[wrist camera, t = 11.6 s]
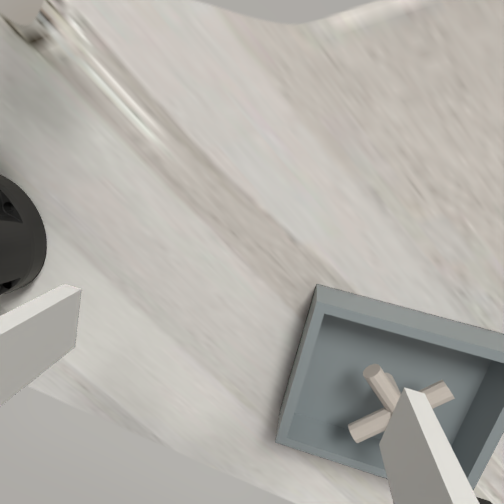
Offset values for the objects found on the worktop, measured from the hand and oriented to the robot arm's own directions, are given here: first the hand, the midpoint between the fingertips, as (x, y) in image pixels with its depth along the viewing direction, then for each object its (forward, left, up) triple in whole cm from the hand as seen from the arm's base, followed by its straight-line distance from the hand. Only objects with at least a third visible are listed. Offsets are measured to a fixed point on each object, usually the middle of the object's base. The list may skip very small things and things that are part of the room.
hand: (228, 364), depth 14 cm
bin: (+15, -13, -25) cm, 31 cm away
